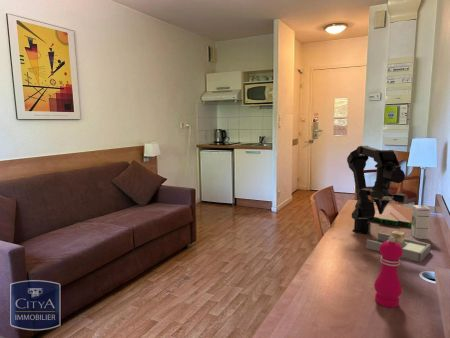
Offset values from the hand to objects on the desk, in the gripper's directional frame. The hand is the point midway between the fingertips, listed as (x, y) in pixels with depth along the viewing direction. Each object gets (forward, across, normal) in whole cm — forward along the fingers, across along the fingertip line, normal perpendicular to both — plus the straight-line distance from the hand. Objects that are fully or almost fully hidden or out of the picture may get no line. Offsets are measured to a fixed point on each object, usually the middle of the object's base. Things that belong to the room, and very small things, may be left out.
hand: (380, 214), depth 142 cm
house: (+14, -10, +45) cm, 48 cm away
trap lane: (+13, +8, -3) cm, 16 cm away
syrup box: (+13, +10, +22) cm, 28 cm away
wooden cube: (+10, +8, 0) cm, 13 cm away
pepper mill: (+13, +20, -49) cm, 54 cm away
